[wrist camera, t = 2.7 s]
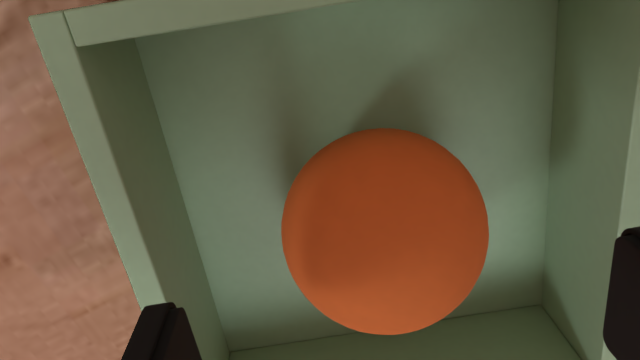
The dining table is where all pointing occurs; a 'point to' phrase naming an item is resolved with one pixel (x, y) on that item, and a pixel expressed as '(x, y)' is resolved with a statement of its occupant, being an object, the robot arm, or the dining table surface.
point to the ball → (385, 231)
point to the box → (345, 118)
